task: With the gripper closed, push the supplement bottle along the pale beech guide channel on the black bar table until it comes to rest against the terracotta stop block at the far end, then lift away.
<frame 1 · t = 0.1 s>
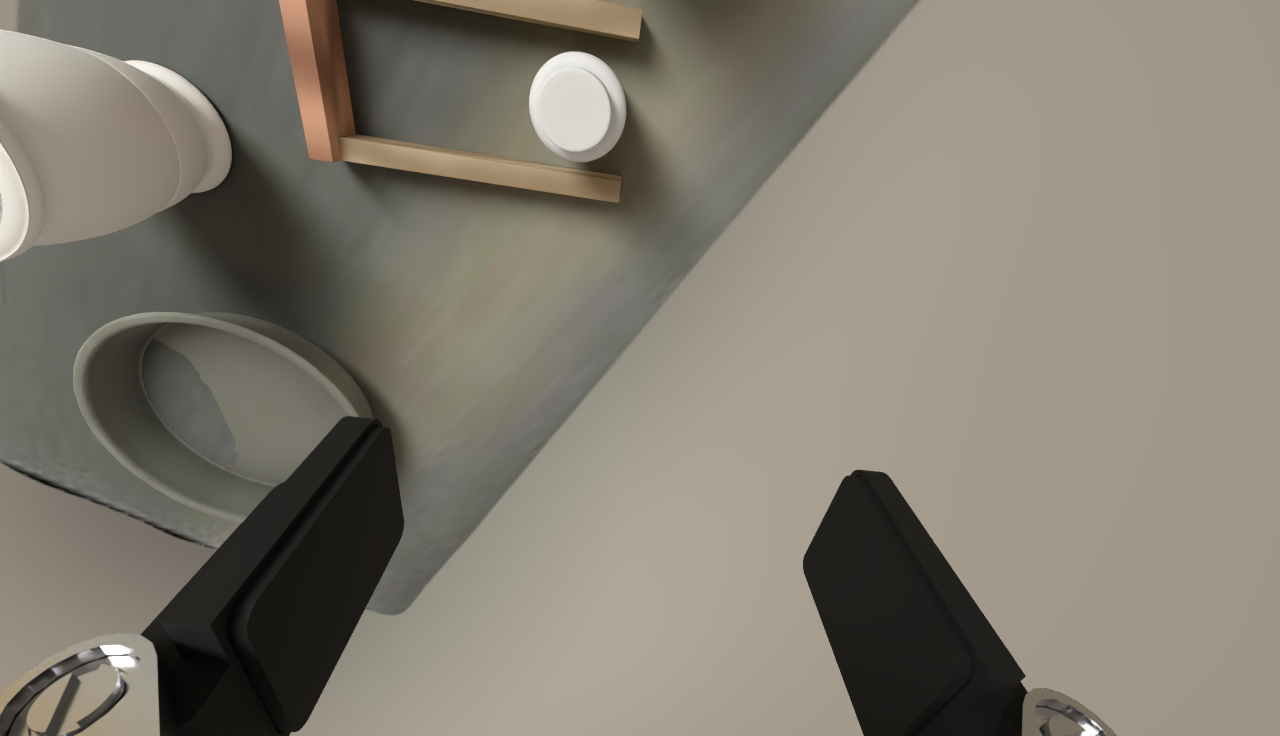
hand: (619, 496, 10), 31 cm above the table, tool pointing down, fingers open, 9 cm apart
cake pan: (264, 407, 46), on the table
jar: (173, 130, 33), on the table
supplement bottle: (588, 106, 33), on the table
channel: (480, 88, 32), on the table
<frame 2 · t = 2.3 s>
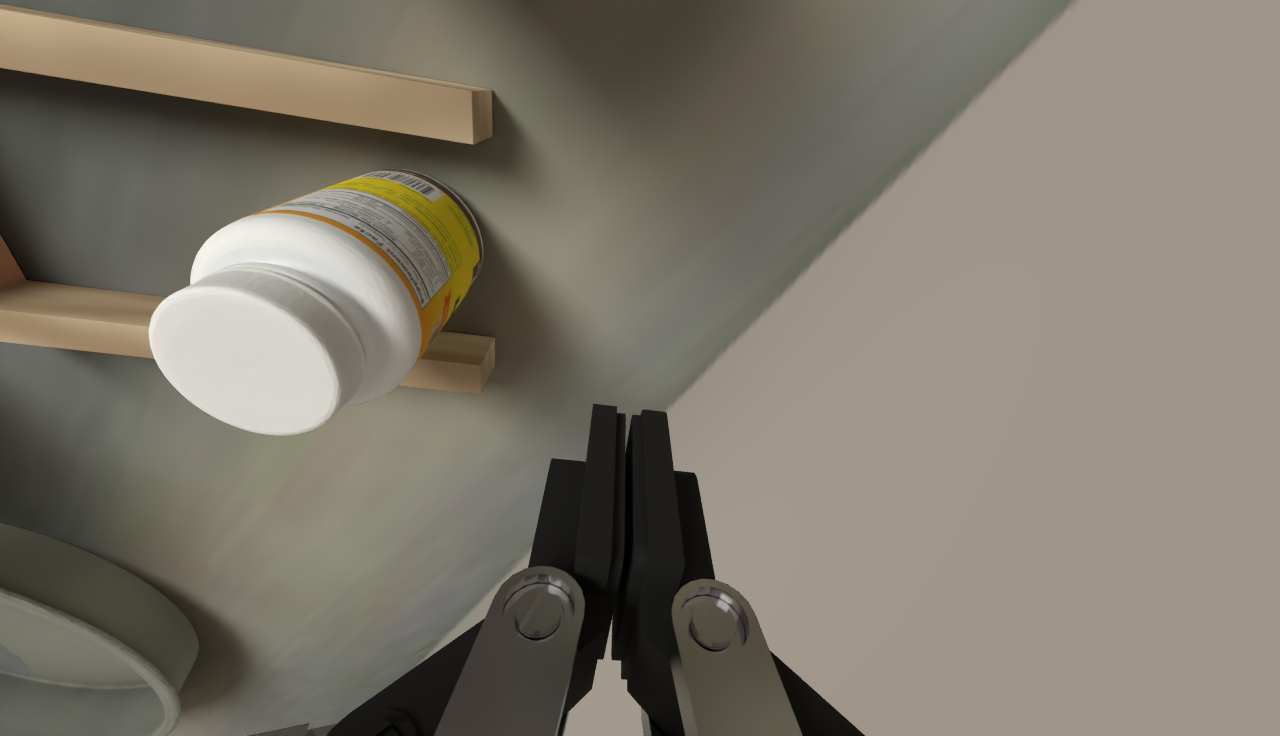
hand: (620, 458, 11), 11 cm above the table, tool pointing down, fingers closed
cake pan: (32, 607, 33), on the table
supplement bottle: (421, 236, 19), on the table
channel: (223, 210, 18), on the table
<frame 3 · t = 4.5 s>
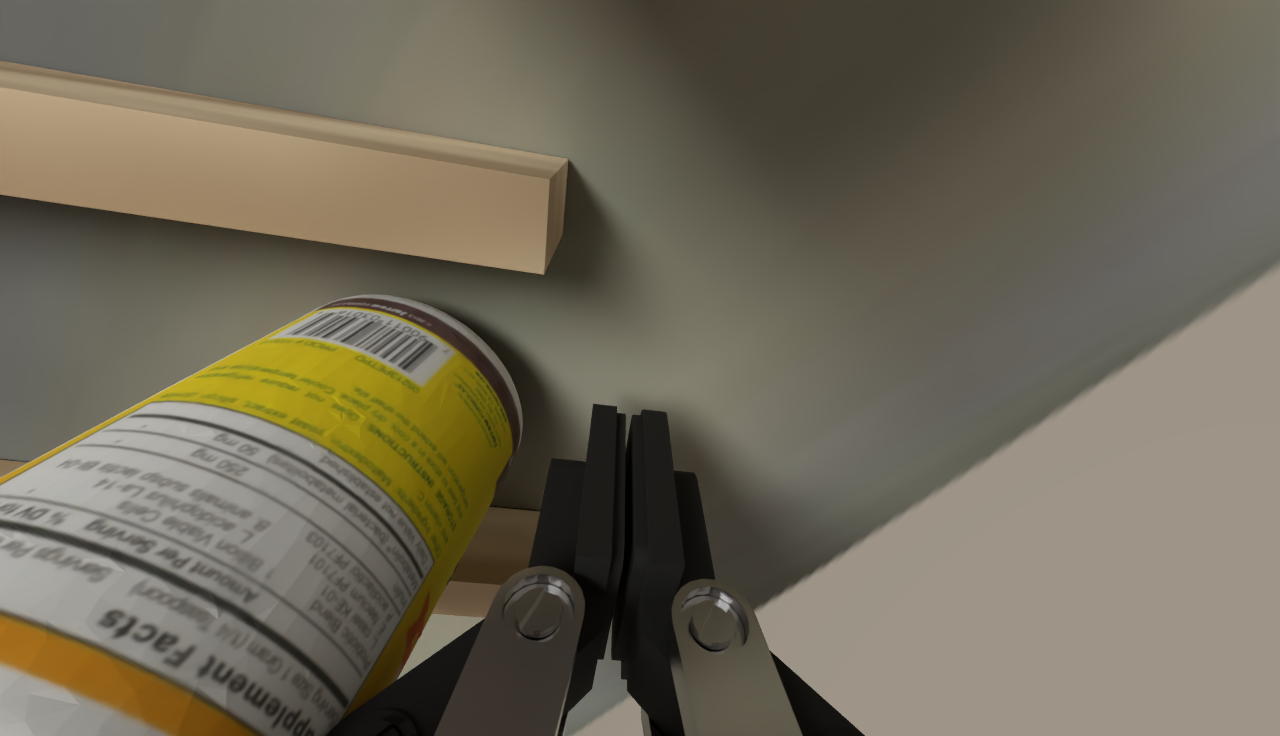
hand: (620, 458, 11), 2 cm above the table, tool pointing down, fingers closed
supplement bottle: (427, 387, 11), on the table, touching gripper
channel: (102, 343, 11), on the table
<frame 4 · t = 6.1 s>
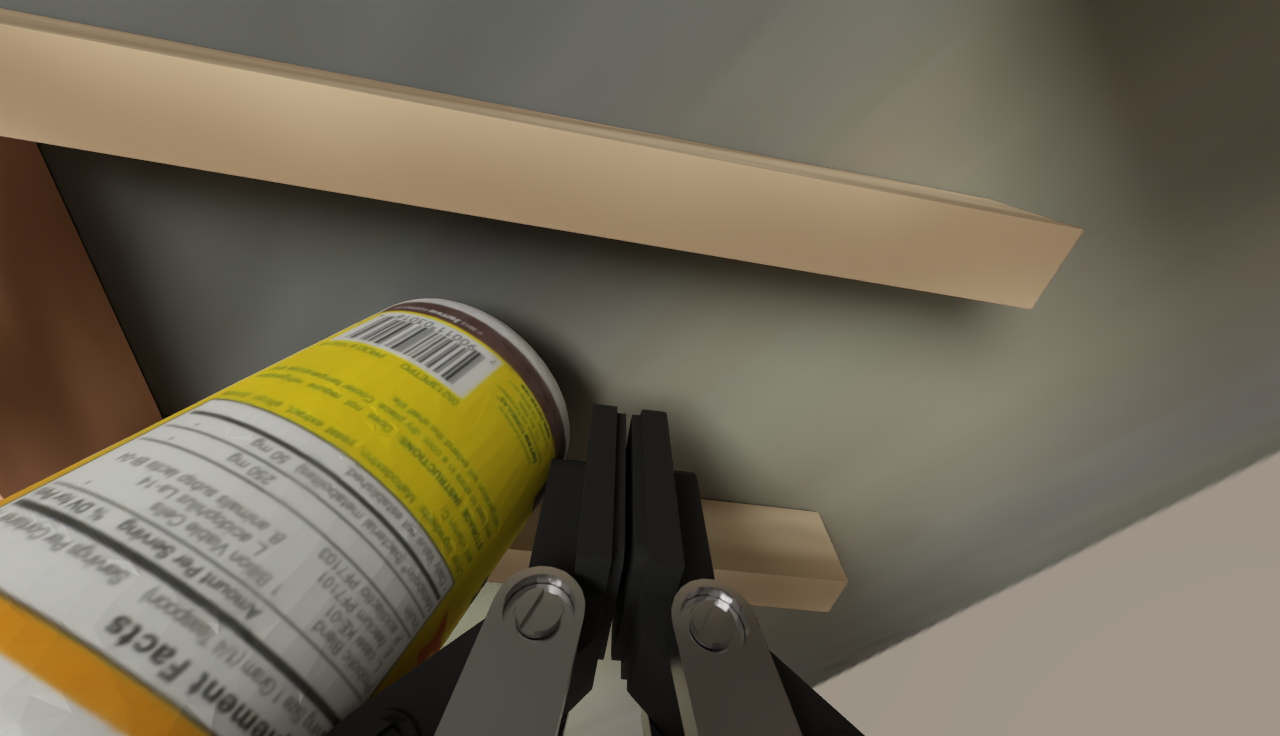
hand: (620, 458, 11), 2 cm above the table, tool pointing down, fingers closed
supplement bottle: (484, 391, 12), point 1 cm above the table, touching gripper
channel: (494, 356, 12), on the table
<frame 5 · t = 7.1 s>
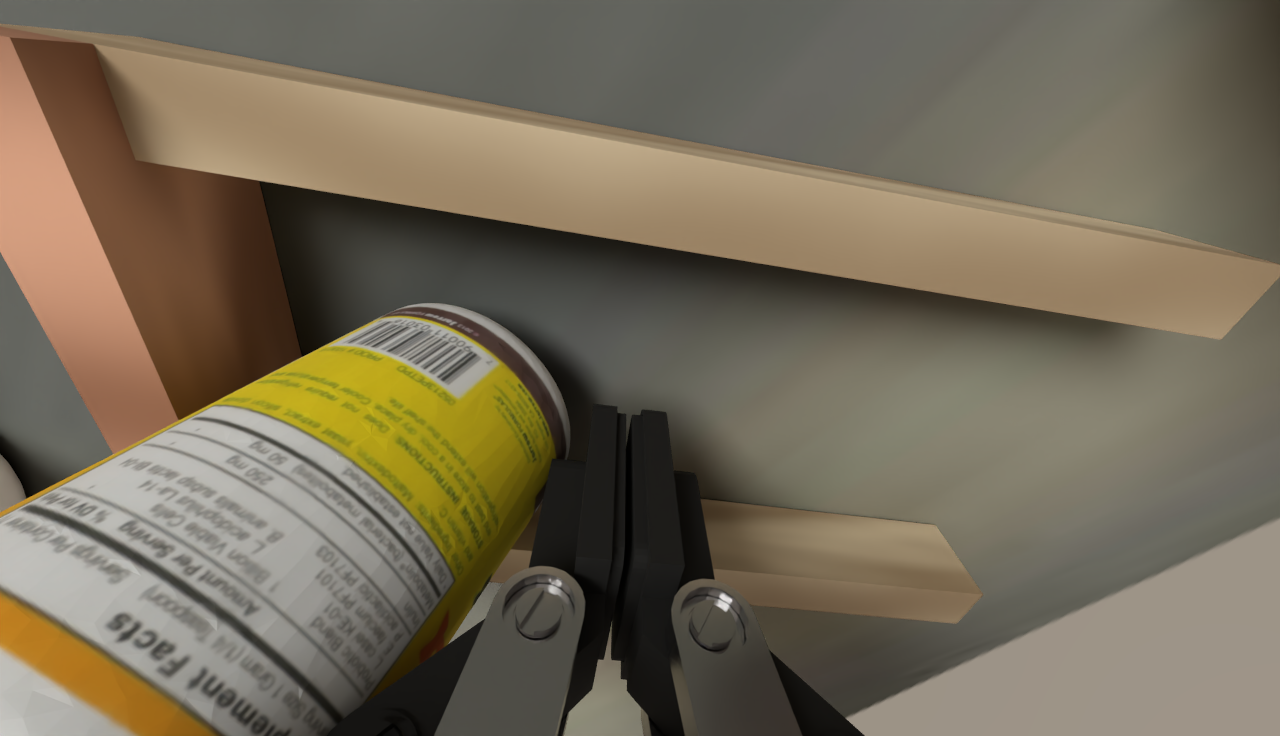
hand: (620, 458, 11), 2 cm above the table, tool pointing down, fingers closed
supplement bottle: (485, 394, 12), point 1 cm above the table, touching gripper
channel: (651, 378, 12), on the table
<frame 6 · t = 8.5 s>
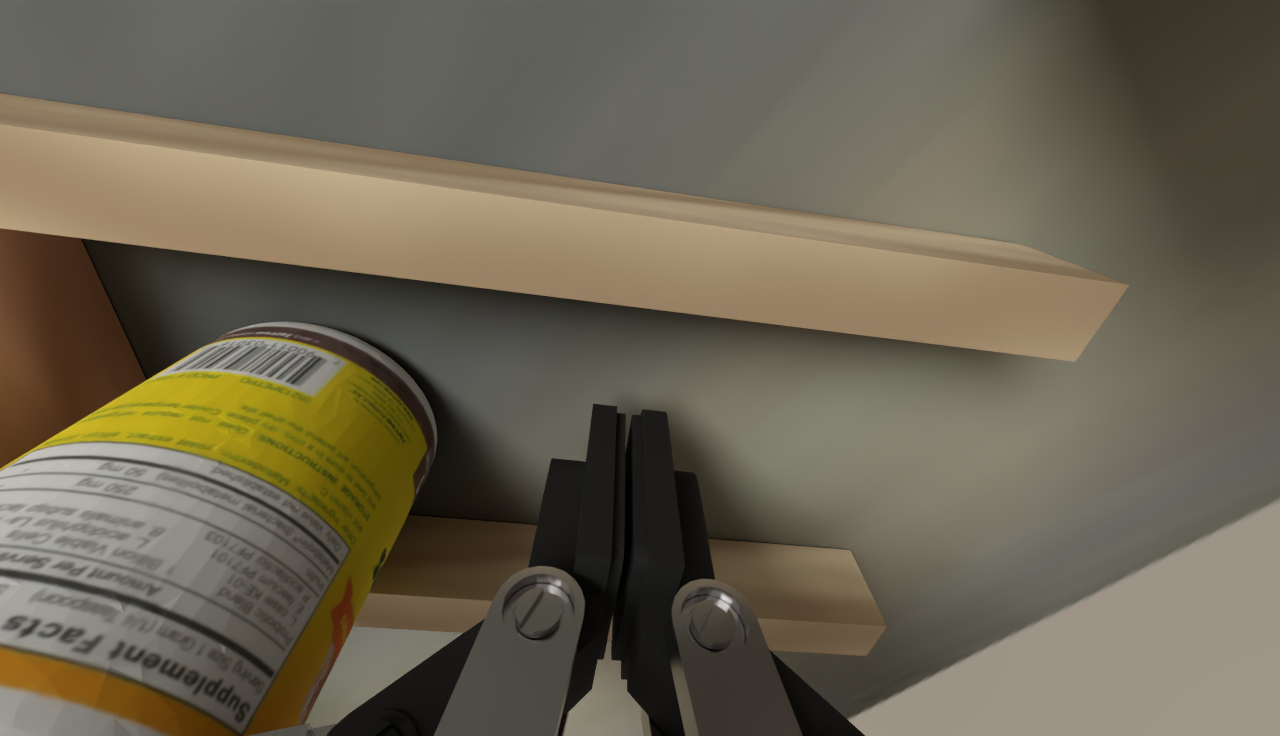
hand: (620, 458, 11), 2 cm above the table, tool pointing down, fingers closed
supplement bottle: (338, 406, 12), on the table
channel: (523, 410, 12), on the table
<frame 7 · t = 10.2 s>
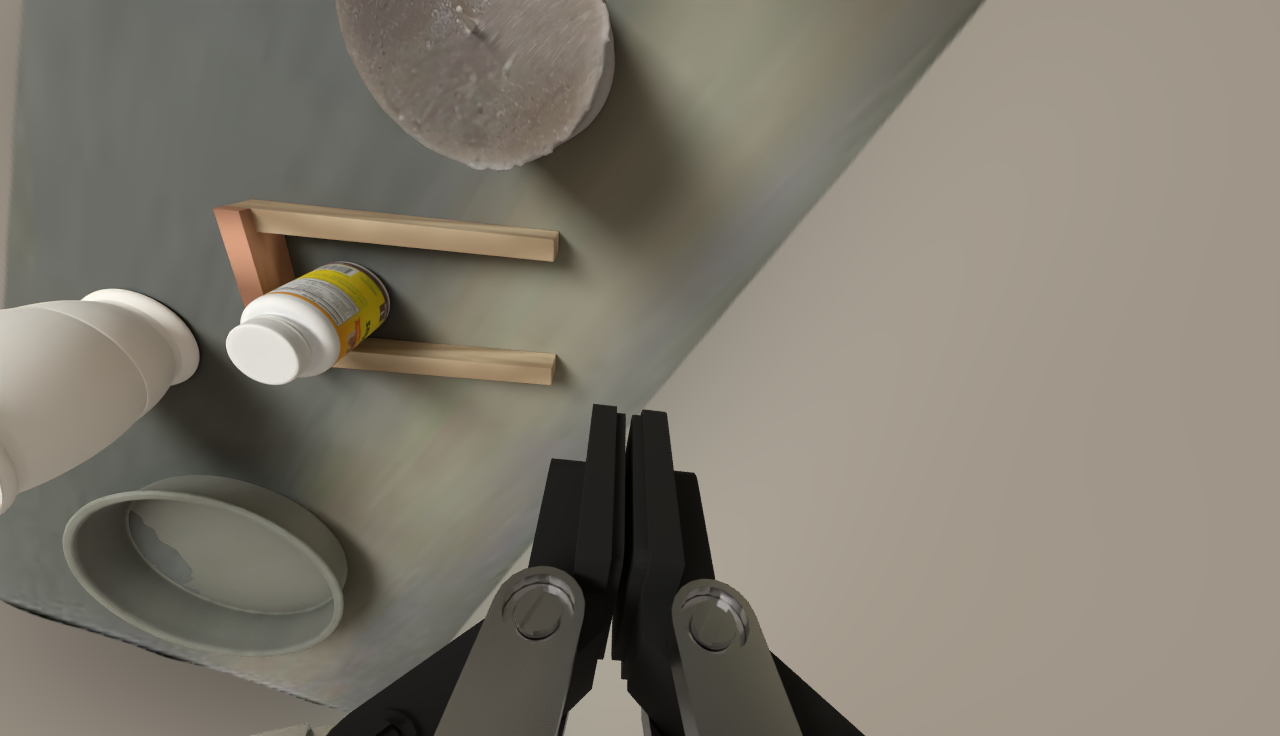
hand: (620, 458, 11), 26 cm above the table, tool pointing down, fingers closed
cake pan: (243, 547, 49), on the table
jar: (146, 336, 37), on the table
supplement bottle: (357, 293, 36), on the table
channel: (419, 292, 35), on the table
pillar candle: (538, 60, 29), on the table
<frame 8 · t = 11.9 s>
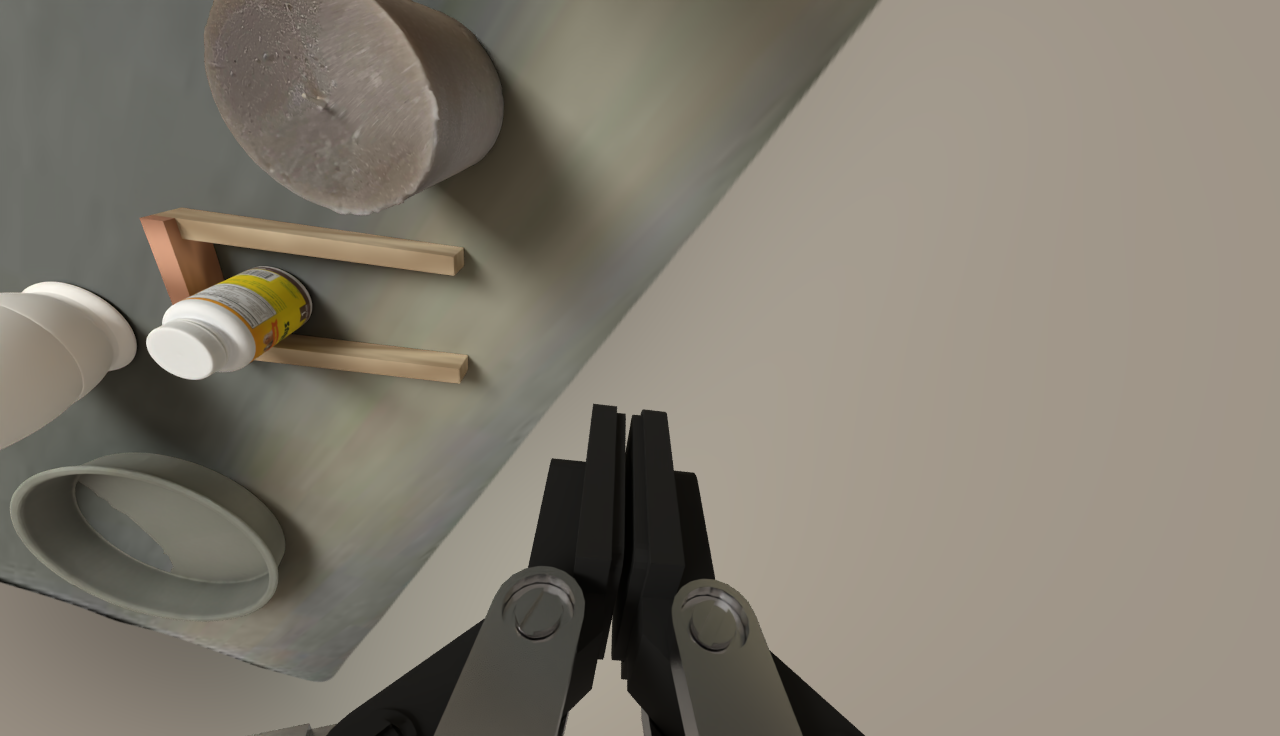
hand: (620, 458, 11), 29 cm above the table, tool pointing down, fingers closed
cake pan: (186, 520, 53), on the table
jar: (86, 325, 40), on the table
supplement bottle: (282, 294, 39), on the table
channel: (339, 296, 39), on the table
pillar candle: (436, 98, 32), on the table
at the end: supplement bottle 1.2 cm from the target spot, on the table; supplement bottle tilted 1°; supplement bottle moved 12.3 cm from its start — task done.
